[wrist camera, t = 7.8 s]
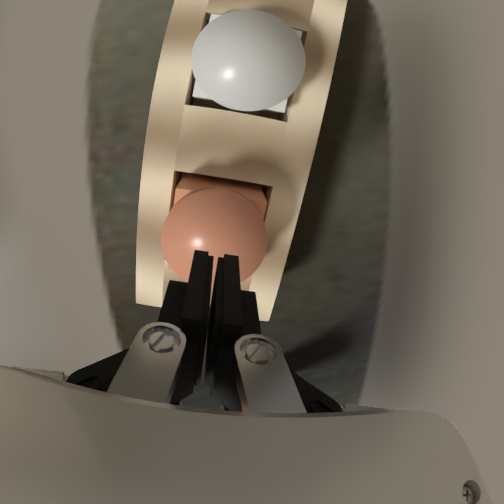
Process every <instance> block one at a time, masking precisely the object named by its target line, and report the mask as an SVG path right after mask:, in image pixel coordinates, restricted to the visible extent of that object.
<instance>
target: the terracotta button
mask: <svg viewBox="0 0 504 504" xmlns="http://www.w3.org/2000/svg"><path fill="white" fill-rule="evenodd" d="M266 206H267V201H266V198H265V196H264V194H263V191H262V189H261V186H260V184H257V183H251V182H245V181H239V180H233V179H227V178H221V177H215V176H208V175H202V174H195V173H188V172H186V173H185V175H184V176H183V178H182V179H181V181H180V182H179V184H178V185H177V187H176V189H175V197H174V205H173V208H172V209H171V211H170V212H169V214H168V216H167V218H166V220H165V222H164V225H163V228H162V233H161V245H162V250H163V254H164V256H165V259H166V261H167V262H168V269H169V270H173V271H174V272H175V273H176V274H177V275H179V276H180V277H181V278H182V279H184V280H186V281H187V282H188V280H189V275H190V270H191V265H192V260H193V255H194V251H195V250H201V251H208V252H209V254H208V255H209V256H214V261H213V273H212V285H211V288H212V289H213V285H214V279H215V273H216V267H217V261H218V257H224V254H228V255H235V256H239V269H240V283H241V282H242V281H244V280H246V281H249V280H250V276H251V275H252V274H253V273H254V272H255V271H256V270H257V269H258V268H259V266H260V264H261V263H262V261H263V259H264V257H265V253H266V250H267V231H266V228H265V224H264V221H263V219H264V215H265V210H266Z"/></svg>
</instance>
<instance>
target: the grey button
mask: <svg viewBox="0 0 504 504" xmlns="http://www.w3.org/2000/svg"><path fill="white" fill-rule="evenodd" d="M302 32H303V31H299V30H296V29H293V28H292V27H291V26H290V25H289V24H288V23H286V22H285V21H284V20H282V19H281V18H279V17H277V16H275V15H273V14H270V13H268V12H264V11H260V10H251V9H245V10H236V11H232V12H229V13H226V14H223V15H217V14H211V17H210V20H209V24H208V25H206V26H205V28H204V29H203V30H202V31H201V32H200V34H199V35H198V37H197V39H196V41H195V43H194V46H193V49H192V55H191V65H192V71H193V74H194V77H195V79H196V80H195V85H194V90H193V95H192V96H193V97H195V98H197V99H200V100H204V101H211V102H217V103H218V104H220V105H222V106H224V107H227V108H230V109H234V110H239V111H258V110H263V111H268V112H280V113H285V109H286V104H287V100H288V97H289V96H290V95H291V94H292V93H293V92H294V91H295V90H296V88H297V87H298V85H299V84H300V82H301V80H302V77H303V74H304V71H305V65H306V57H305V51H304V47H303V44H302V42H301V37H302Z"/></svg>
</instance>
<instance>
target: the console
mask: <svg viewBox="0 0 504 504" xmlns="http://www.w3.org/2000/svg"><path fill="white" fill-rule="evenodd" d="M346 5H347V0H175V1H174V5H173V8H172V12H171V15H170V19H169V23H168V26H167V30H166V34H165V38H164V42H163V46H162V51H161V55H160V60H159V64H158V69H157V74H156V79H155V84H154V89H153V95H152V100H151V106H150V112H149V119H148V125H147V132H146V140H145V147H144V155H143V164H142V174H141V184H140V196H139V209H138V226H137V250H136V303H138V304H144V305H150V306H156V307H162V304H163V300H164V297H165V293H166V290H167V286H168V283H169V280H175V281H181V282H187V281H186V280H184V279H182V278H181V277H180V276H179V275H177V274H176V273H175V272H174V271H173V270H169V269H168V262H167V261H166V259H165V256H164V254H163V250H162V245H161V233H162V228H163V225H164V222H165V220H166V218H167V216H168V214H169V212H170V211H171V209H172V208H173V205H174V197H175V189H176V187H177V185H178V184H179V182H180V181H181V179H182V178H183V176H184V175H185V173H186V172H188V173H195V174H202V175H208V176H215V177H221V178H227V179H233V180H239V181H245V182H251V183H257V184H260V186H261V189H262V191H263V194H264V196H265V198H266V201H267V206H266V210H265V215H264V219H263V221H264V224H265V228H266V231H267V250H266V253H265V257H264V259H263V261H262V263H261V264H260V266H259V268H258V269H257V270H256V271H255V272H254V273H253V274H252V275H251V276H250V280H249V281H246V280H244V281H242V282H241V283H240V284H241V290H246V291H254V292H255V293H256V299H257V307H258V314H259V320H261V321H269V318H270V315H271V312H272V308H273V305H274V301H275V298H276V295H277V291H278V288H279V284H280V281H281V277H282V274H283V270H284V267H285V263H286V259H287V256H288V252H289V249H290V245H291V241H292V238H293V234H294V230H295V226H296V223H297V219H298V215H299V211H300V208H301V204H302V200H303V196H304V192H305V188H306V184H307V180H308V176H309V172H310V168H311V164H312V160H313V156H314V152H315V148H316V144H317V140H318V136H319V131H320V127H321V123H322V119H323V114H324V110H325V106H326V101H327V97H328V92H329V88H330V83H331V79H332V74H333V69H334V65H335V60H336V55H337V51H338V46H339V41H340V36H341V31H342V26H343V21H344V15H345V10H346ZM245 9H251V10H260V11H264V12H268V13H270V14H273V15H275V16H277V17H279V18H281V19H282V20H284V21H285V22H286V23H288V24H289V25H290V26H291V27H292V28H293V29H296V30H299V31H303V32H302V37H301V42H302V44H303V47H304V51H305V57H306V65H305V71H304V74H303V77H302V80H301V82H300V84H299V85H298V87H297V88H296V90H295V91H294V92H293V93H292V94H291V95H290V96H289V97H288V100H287V104H286V109H285V113H280V112H268V111H263V110H258V111H239V110H234V109H230V108H227V107H224V106H222V105H220V104H218V103H217V102H211V101H204V100H200V99H197V98H195V97H193V96H192V95H193V90H194V85H195V80H196V79H195V77H194V74H193V71H192V65H191V55H192V49H193V46H194V43H195V41H196V39H197V37H198V35H199V34H200V32H201V31H202V30H203V29H204V28H205V26H206V25H208V24H209V20H210V17H211V14H217V15H223V14H226V13H229V12H232V11H236V10H245ZM212 291H213V289H212V288H211V298H212ZM211 298H210V304H211Z"/></svg>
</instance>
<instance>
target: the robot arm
mask: <svg viewBox="0 0 504 504" xmlns="http://www.w3.org/2000/svg"><path fill="white" fill-rule="evenodd" d="M208 254H209V252H208V251H201V250H195V251H194V255H193V260H192V265H191V270H190V275H189V280H188V282H181V281H175V280H169V283H168V286H167V290H166V293H165V297H164V300H163V304H162V307H161V311H160V315H159V318H158V322H155V323H151V324H148V325H146V326H144V327H143V328H142V329H141V330H140V331H139V332H138V334H137V336H136V338H135V339H134V341H133V343H132V345H131V347H130V348H128V349H126V350H124V351H121V352H119V353H117V354H115V355H112V356H110V357H108V358H105V359H103V360H101V361H99V362H96V363H94V364H91V365H89V366H86V367H84V368H82V369H79V370H77V371H75V372H74V373H72V374H71V375H70V376H67V375H64V372H59V371H48V370H37V369H29V368H20V367H9V366H1V365H0V504H493V503H492V500H491V497H490V494H489V491H488V489H487V486H486V483H485V481H484V478H483V476H482V473H481V471H480V469H479V466H478V465H477V462H476V460H475V458H474V456H473V453H472V452H471V450H470V448H469V446H468V444H467V443H466V441H465V439H464V437H463V436H462V434H461V432H460V431H459V429H458V428H457V427H456V426H455V424H454V423H453V422H451V421H450V420H449V419H448V418H446V417H444V416H442V415H439V414H436V413H433V412H428V411H424V410H414V409H384V408H375V407H367V406H360V405H352V404H346V403H345V404H344V406H340V405H339V404H338V403H337V402H336V401H335V400H333V399H332V398H331V397H329V396H328V395H326V394H325V393H323V392H322V391H320V390H319V389H317V388H316V387H314V386H313V385H311V384H310V383H308V382H307V381H305V380H304V379H302V378H301V377H299V376H298V375H297V374H295V373H294V372H292V371H291V370H289V367H288V365H287V362H286V360H285V357H284V355H283V352H282V350H281V348H280V347H279V345H278V344H277V343H276V342H275V341H274V340H272V339H270V338H268V337H266V336H263V335H261V329H260V321H259V314H258V307H257V299H256V293H255V292H254V291H246V290H241V284H240V269H239V256H235V255H228V254H224V257H218V261H217V267H216V273H215V279H214V285H213V291H212V298H211V285H212V273H213V261H214V256H209V255H208ZM210 298H211V304H210ZM207 330H208V332H207ZM206 337H207V347H206V364H205V383H204V386H207V387H210V396H214V397H215V398H216V399H217V400H218V401H219V402H220V403H221V405H220V410H214V409H204V408H195V407H187V406H181V403H182V399H184V398H186V397H187V396H189V395H190V394H192V393H193V387H194V385H200V379H201V371H202V364H203V357H204V350H205V344H206Z"/></svg>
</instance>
